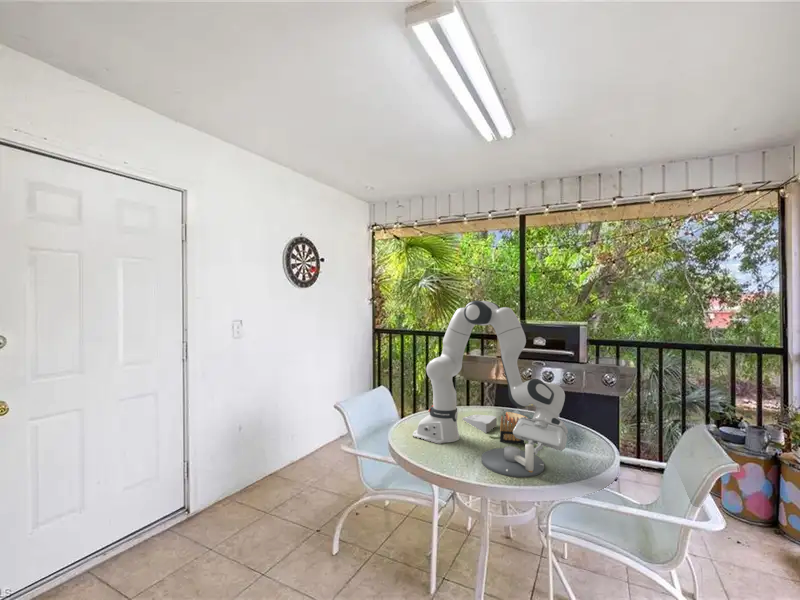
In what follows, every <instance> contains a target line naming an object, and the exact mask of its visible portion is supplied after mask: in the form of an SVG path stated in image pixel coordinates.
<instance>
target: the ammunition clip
mask: <svg viewBox="0 0 800 600" xmlns="http://www.w3.org/2000/svg"><path fill="white" fill-rule="evenodd" d="M521 418H522V417H521ZM518 420H519V418H518V417H517V421H516V424H517V422H518ZM499 427H500V428H499V429H500V430H499V432H500V434H499V442H500V443H509V444H518V443H520V445H521V444H522V445H525V440H521V439H518V438H516V437H515V436H514V434H513V429H514V427H515V418H514V417H513V420H512V424H511V417H510V416H509V422H508V420H507V417H506V416H503V415H501V417H500V424H499Z"/></svg>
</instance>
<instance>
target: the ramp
mask: <svg viewBox="0 0 800 600" xmlns="http://www.w3.org/2000/svg"><path fill="white" fill-rule="evenodd" d="M497 419H498V418H497V416H495V415H489V414H488V415H486V414H471V415H469V416H464V417H462V421H463V420H464V421H466V422H467V423H469V424H471V425H472V426H471V425H470V426H471V427H473V426H474V427H473V428H475V427H476V428H475V429H477V428H478V429H479V431H480V430H481V431H480V432H482V431H483V432H482V433H484V432H485V433H484V434H488V433H489V432H491V431H492V430H494V429H495V428H494V427H496V426H497V422H498V421H497ZM467 423H466V424H467ZM469 424H468V425H469ZM493 428H494V429H493ZM496 428H497V427H496ZM478 429H477V430H478ZM491 429H492V430H491ZM490 430H491V431H490ZM487 432H488V433H487Z"/></svg>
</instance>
